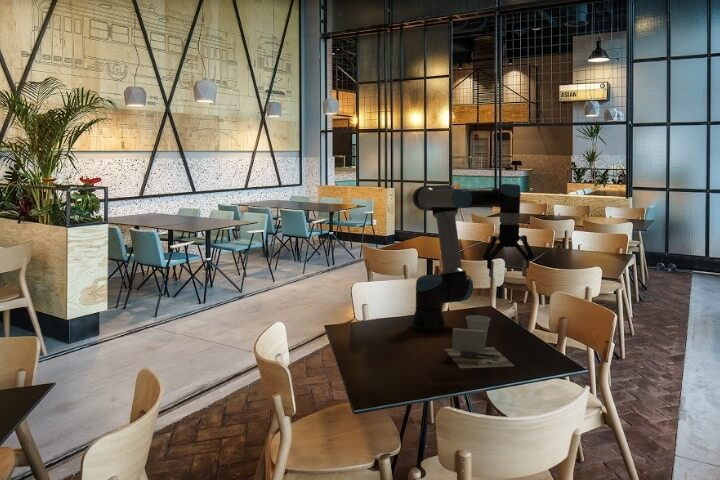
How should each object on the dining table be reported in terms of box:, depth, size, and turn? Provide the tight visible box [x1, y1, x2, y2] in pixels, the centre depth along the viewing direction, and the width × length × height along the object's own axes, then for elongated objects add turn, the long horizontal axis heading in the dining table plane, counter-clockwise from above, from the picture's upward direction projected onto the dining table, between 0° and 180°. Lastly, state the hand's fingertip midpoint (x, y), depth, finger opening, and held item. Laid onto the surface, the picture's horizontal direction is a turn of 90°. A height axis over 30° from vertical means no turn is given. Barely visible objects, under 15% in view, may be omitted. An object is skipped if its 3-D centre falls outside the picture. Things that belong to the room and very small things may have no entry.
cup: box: [465, 314, 492, 343], centre depth 241 cm, size 10×10×11 cm
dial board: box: [444, 346, 515, 369], centre depth 222 cm, size 22×20×1 cm
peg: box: [451, 327, 494, 358], centre depth 222 cm, size 15×6×10 cm, turn 74°
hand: (507, 277), depth 234 cm, fingers open, 13 cm apart
